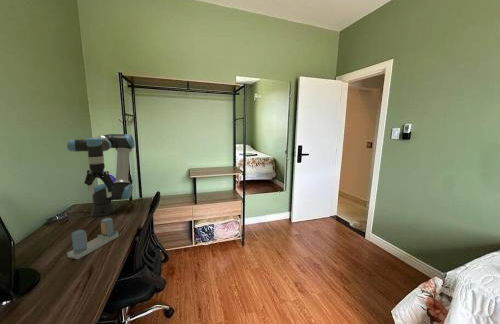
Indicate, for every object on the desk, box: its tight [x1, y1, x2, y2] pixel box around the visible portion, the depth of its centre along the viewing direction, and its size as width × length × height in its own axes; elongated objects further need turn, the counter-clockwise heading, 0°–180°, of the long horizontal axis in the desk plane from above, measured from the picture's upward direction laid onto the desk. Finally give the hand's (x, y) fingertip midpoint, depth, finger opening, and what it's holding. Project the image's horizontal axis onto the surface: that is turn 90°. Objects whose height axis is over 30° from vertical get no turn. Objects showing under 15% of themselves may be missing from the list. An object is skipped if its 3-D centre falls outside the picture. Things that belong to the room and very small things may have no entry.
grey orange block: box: [100, 217, 114, 237], centre depth 123 cm, size 5×4×10 cm
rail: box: [66, 229, 119, 260], centre depth 116 cm, size 24×7×12 cm, turn 166°
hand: (100, 195), depth 130 cm, fingers open, 13 cm apart
